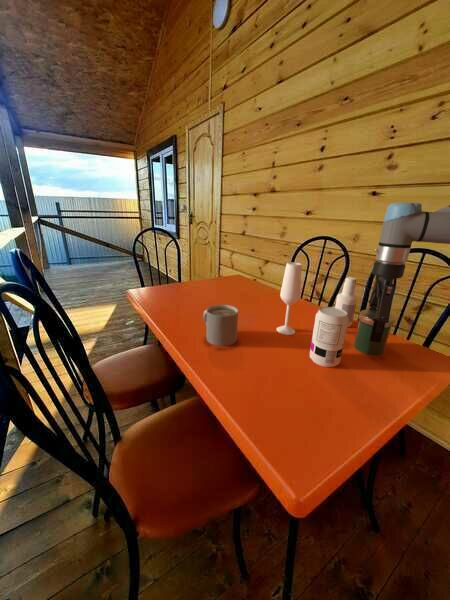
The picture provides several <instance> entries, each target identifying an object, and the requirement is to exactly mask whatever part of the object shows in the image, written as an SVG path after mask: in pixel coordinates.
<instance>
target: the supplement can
mask: <svg viewBox="0 0 450 600" xmlns="http://www.w3.org/2000/svg"><path fill="white" fill-rule="evenodd" d="M348 321H349V318H348V316H347V312H345V311H344V310H341V309H338V308H335V306H322V307H320V308H319V309H318V311H317V312H316V313H315V317H314V324H313V330H312V335H311V342H310V349H309V355H308V356H309V358H310V359H311V360H312V362H313V363H314V364H316V365H318V366H320V367H324V368H333V367H336V366H338V365H340V363H341V358H342V354H343V349H344V344H345V340H346V335H347V330H348V327H347V326H348Z"/></svg>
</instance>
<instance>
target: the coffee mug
mask: <svg viewBox="0 0 450 600" xmlns="http://www.w3.org/2000/svg"><path fill="white" fill-rule="evenodd" d="M202 316H203V323H204V324H205V325H206V329H205V330H206V334H205V335H206V337H205V339H206V341H207V342H208V343H209V344H211V345H214V346H217V347H227V346H231V345H234V344H235V343H236V342H237V341H238V324H239V309H238V308H237V307H235V306H233V305H229V304H214V305H210V306H209V307H207V308H206V309H205V310H204V311H203V315H202Z"/></svg>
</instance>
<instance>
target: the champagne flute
mask: <svg viewBox="0 0 450 600" xmlns="http://www.w3.org/2000/svg"><path fill="white" fill-rule="evenodd" d="M302 265H303V264H302V263H300V262H297V261H296V262H295V261H294V262H293V261H288V262H286V265H285V269H284V273H283V274H284V275H283V279H282V282H281V289H280V293H279V297H280V299H281V301H282V302H283V303H284V304H285V305H286V312H285V321H284V325H280V326H278V327H276V329H275V330H276V332H278V333H279V334H281V335H286V336H290V335H291V336H292V335H294V334H296V330H295V329H294V328H292V327H291V326H290V325H289V324H290V323H289V322H290V314H291V308H292V306H293V305H294V304H296V303H297V302H299V300H301V295H302V294H301V293H302V267H303V266H302Z"/></svg>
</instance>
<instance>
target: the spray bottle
mask: <svg viewBox="0 0 450 600" xmlns="http://www.w3.org/2000/svg"><path fill="white" fill-rule="evenodd" d="M356 283H357V278H356V277H352V276H348V277H346V278H345V280H344V283H343V286H342V291H341V292H339V293H338V294H337V295H336V299H335V306H334V308H338V309H341V310H344V311H345V312H347V316H348V318H349V321H348V326H347V328H350V327H352V325H353V321H354V316H355V311H356V307H357V303H358V296H356V294H355V291H356Z"/></svg>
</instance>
